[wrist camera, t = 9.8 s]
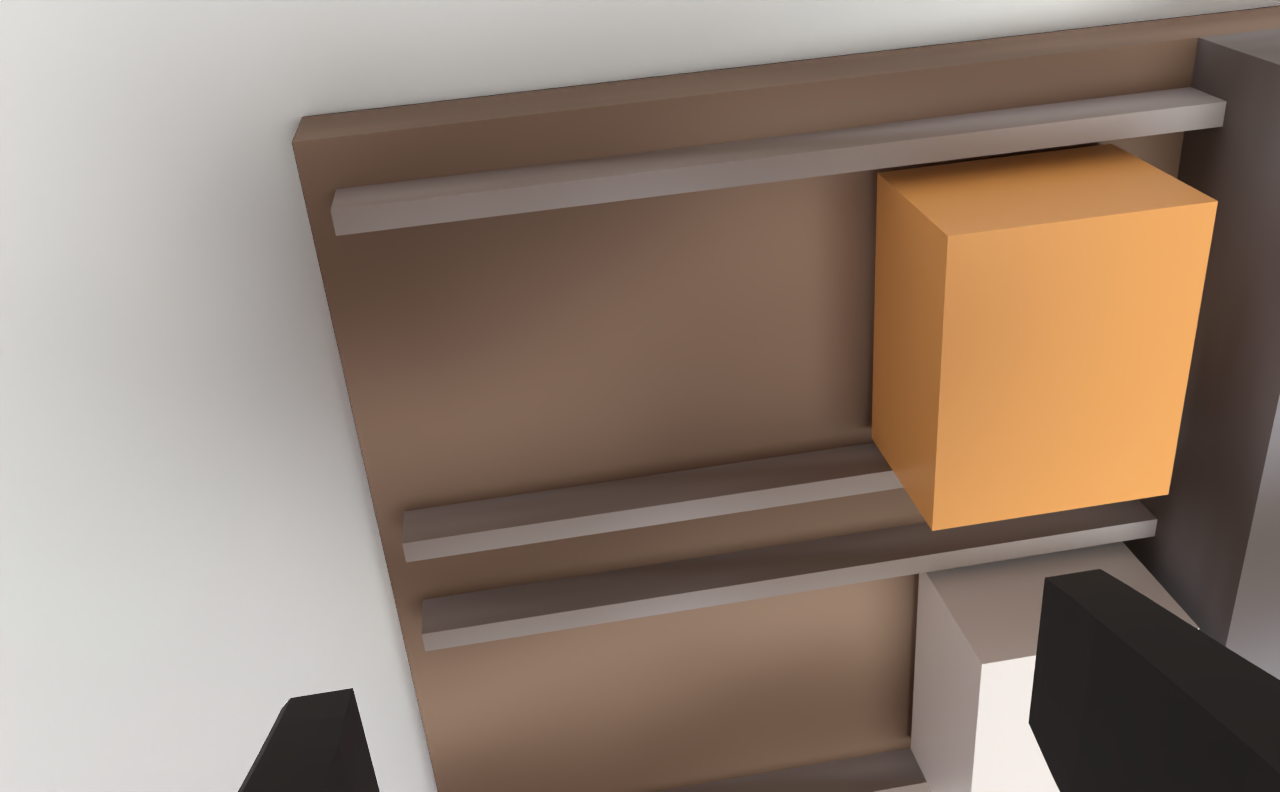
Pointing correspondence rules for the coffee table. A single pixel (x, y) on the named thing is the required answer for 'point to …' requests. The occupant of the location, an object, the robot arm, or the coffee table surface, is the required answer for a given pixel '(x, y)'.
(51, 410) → the coffee table surface
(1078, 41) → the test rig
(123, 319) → the coffee table surface
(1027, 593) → the white slider
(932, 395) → the orange slider
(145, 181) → the coffee table surface
